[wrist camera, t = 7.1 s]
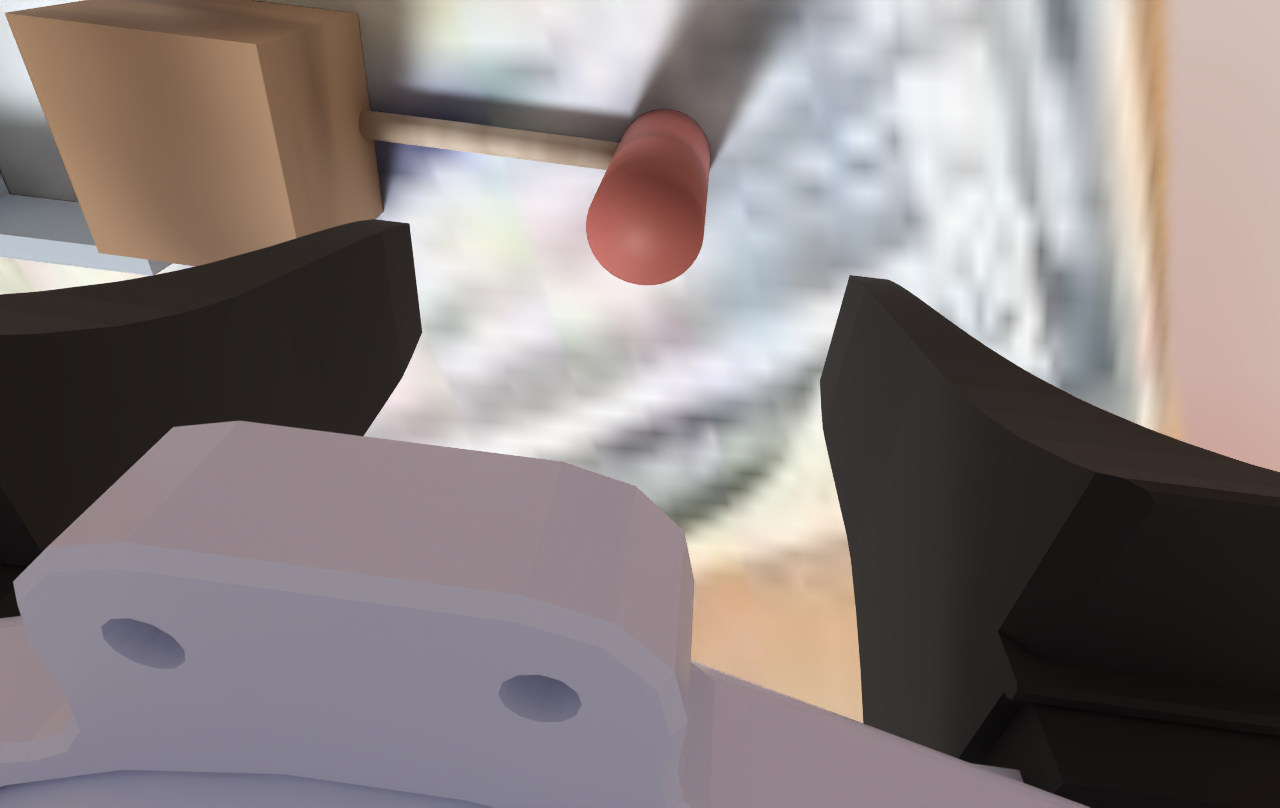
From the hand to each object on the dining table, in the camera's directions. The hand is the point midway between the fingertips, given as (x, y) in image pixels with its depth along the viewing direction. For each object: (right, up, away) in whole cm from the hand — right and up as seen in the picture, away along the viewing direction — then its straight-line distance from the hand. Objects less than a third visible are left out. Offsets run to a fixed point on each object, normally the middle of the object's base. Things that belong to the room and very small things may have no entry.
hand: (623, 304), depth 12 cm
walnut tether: (-5, +6, +7) cm, 10 cm away
